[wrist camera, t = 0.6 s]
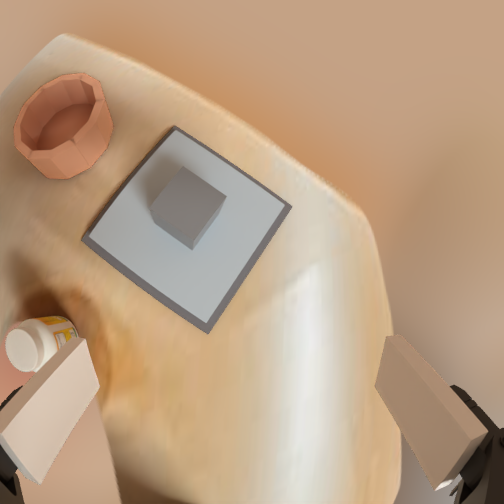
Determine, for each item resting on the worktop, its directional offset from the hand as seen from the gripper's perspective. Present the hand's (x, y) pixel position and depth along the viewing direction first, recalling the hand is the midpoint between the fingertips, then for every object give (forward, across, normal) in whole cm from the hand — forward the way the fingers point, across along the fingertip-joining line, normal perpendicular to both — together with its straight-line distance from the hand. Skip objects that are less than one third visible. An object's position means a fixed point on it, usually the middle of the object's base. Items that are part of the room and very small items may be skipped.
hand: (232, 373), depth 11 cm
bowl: (+23, +22, -16) cm, 36 cm away
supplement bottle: (+15, +21, +8) cm, 27 cm away
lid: (+22, +6, -4) cm, 23 cm away
